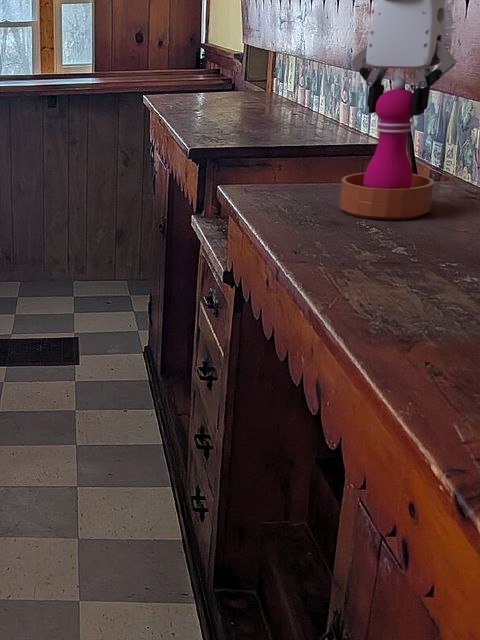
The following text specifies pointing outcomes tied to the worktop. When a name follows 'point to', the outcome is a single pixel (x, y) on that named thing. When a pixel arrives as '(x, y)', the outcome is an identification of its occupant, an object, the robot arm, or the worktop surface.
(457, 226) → the worktop surface
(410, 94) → the pepper mill
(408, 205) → the bowl
